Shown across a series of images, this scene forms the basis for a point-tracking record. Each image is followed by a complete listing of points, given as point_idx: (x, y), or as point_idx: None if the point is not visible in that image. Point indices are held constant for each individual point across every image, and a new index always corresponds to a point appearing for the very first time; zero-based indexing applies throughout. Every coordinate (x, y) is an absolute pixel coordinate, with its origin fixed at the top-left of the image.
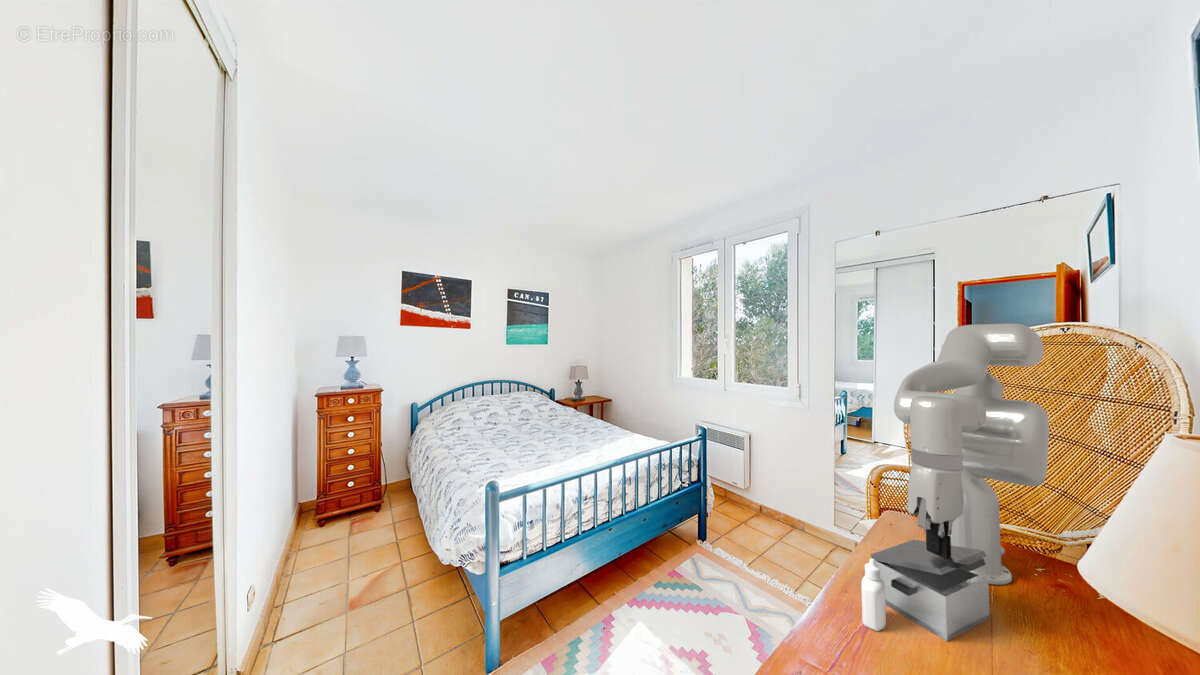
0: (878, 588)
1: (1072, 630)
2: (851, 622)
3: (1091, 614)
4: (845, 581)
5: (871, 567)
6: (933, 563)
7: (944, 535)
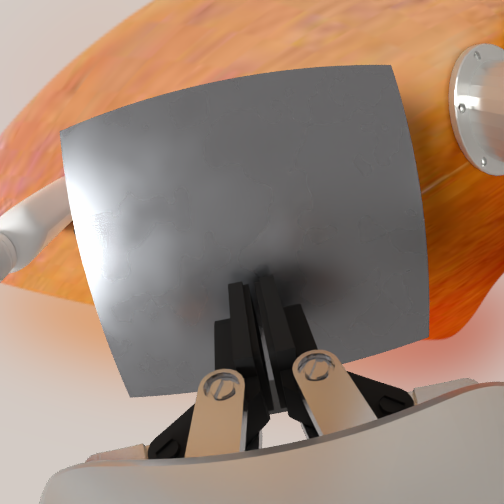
0: (9, 272)
1: (433, 284)
2: (21, 197)
3: (493, 261)
4: (105, 46)
5: None
6: (154, 358)
7: (285, 402)
